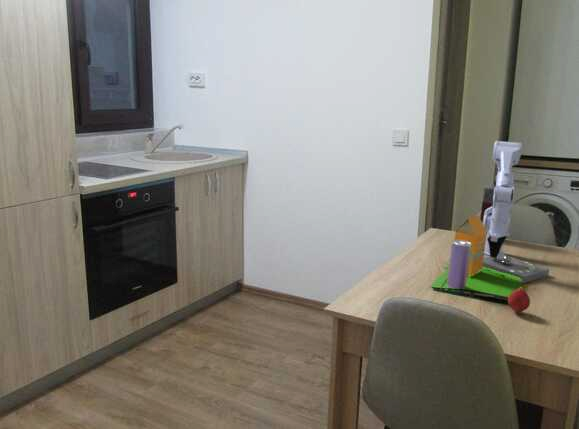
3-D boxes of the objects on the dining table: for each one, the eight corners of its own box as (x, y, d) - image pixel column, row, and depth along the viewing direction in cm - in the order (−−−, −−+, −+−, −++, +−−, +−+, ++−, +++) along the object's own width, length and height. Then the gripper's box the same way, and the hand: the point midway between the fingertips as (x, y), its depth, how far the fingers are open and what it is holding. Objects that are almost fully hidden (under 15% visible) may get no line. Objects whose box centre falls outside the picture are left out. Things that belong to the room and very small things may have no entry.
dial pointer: (489, 260, 191) (491, 249, 190) (492, 258, 194) (494, 247, 193) (529, 269, 183) (531, 258, 182) (532, 267, 186) (534, 255, 185)
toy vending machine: (504, 244, 223) (514, 179, 217) (476, 239, 228) (486, 175, 222) (506, 239, 231) (516, 176, 224) (479, 235, 236) (488, 173, 229)
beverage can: (455, 291, 167) (462, 246, 163) (442, 284, 172) (448, 240, 168) (469, 289, 169) (476, 244, 166) (456, 282, 175) (462, 239, 171)
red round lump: (502, 308, 155) (506, 282, 153) (521, 308, 156) (525, 283, 154) (512, 316, 150) (516, 290, 148) (531, 317, 150) (536, 291, 148)
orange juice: (481, 272, 187) (489, 217, 182) (470, 277, 180) (479, 220, 176) (460, 266, 192) (468, 212, 187) (449, 271, 185) (457, 216, 181)
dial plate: (474, 266, 192) (475, 259, 192) (500, 260, 202) (501, 253, 201) (522, 283, 177) (524, 276, 177) (548, 275, 187) (549, 268, 186)
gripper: (508, 226, 180) (502, 263, 183) (514, 217, 192) (508, 253, 196) (487, 222, 183) (481, 259, 187) (493, 214, 196) (488, 249, 199)
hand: (493, 256), depth 191 cm, fingers closed
